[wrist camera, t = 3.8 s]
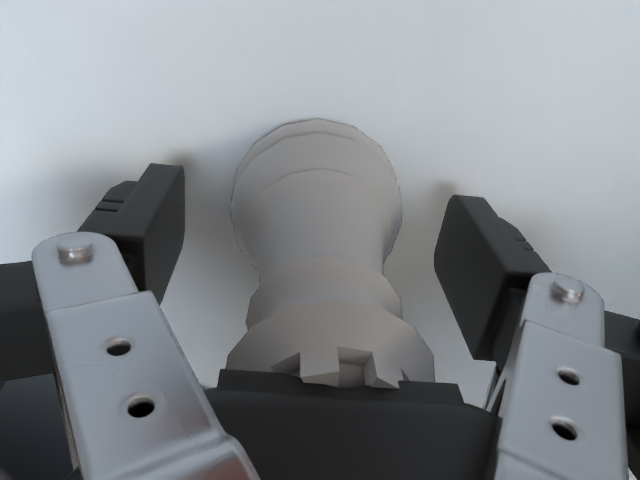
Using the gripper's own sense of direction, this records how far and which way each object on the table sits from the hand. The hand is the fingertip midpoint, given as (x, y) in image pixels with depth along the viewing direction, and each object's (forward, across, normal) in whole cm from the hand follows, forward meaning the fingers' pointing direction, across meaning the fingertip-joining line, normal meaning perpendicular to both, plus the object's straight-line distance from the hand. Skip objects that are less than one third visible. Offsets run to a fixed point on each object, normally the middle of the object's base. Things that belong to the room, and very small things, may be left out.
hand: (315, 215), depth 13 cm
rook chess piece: (+2, 0, 0) cm, 2 cm away
